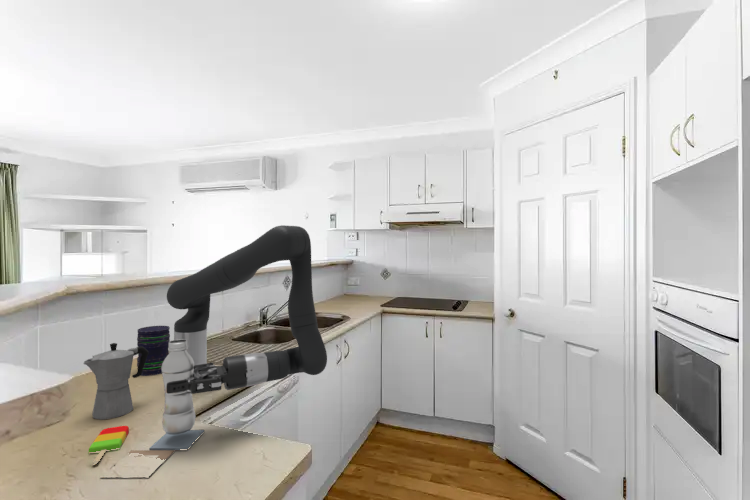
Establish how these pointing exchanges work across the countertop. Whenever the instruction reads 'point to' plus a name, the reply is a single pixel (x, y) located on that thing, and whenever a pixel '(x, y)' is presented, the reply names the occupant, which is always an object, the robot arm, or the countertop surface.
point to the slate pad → (176, 440)
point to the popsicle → (109, 440)
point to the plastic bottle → (178, 404)
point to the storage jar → (153, 348)
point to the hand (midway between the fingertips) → (166, 383)
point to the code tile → (153, 453)
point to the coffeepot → (114, 380)
